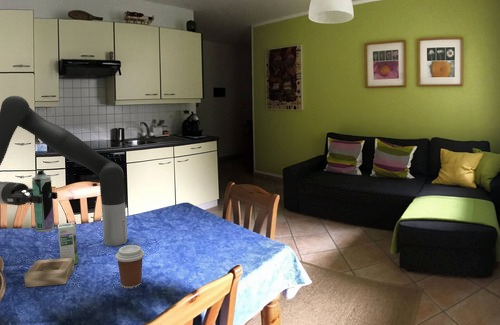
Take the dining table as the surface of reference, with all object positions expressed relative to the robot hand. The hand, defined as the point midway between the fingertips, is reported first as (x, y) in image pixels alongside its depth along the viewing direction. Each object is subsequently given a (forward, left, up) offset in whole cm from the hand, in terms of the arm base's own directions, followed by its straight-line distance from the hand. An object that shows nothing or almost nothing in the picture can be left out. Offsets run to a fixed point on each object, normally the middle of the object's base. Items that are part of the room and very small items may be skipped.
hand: (49, 197), depth 127 cm
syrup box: (-1, -13, -28) cm, 31 cm away
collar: (+2, -1, -28) cm, 28 cm away
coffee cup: (-25, +9, -28) cm, 39 cm away
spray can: (+2, -1, -11) cm, 12 cm away
